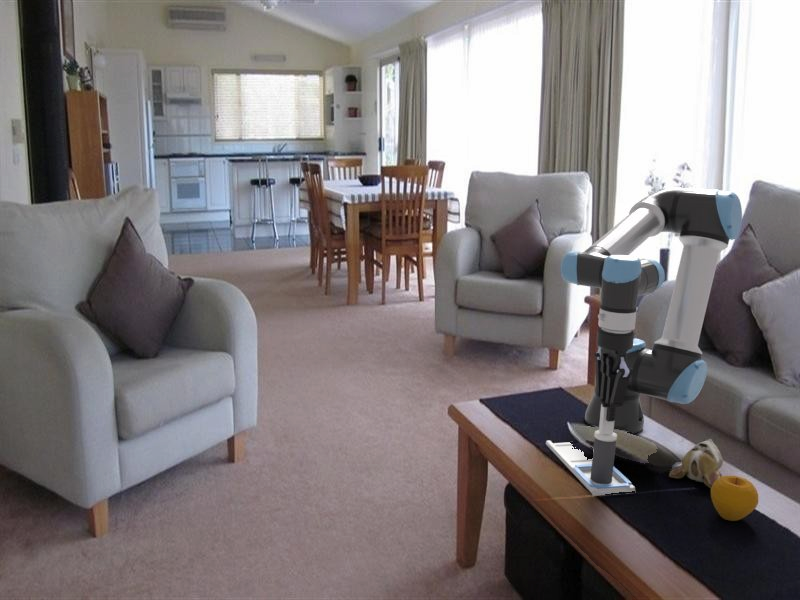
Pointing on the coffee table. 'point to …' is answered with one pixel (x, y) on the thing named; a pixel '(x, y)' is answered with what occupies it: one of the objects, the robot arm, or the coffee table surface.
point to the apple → (734, 497)
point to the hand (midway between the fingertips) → (605, 432)
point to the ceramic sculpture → (700, 464)
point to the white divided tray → (588, 470)
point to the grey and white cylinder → (603, 457)
